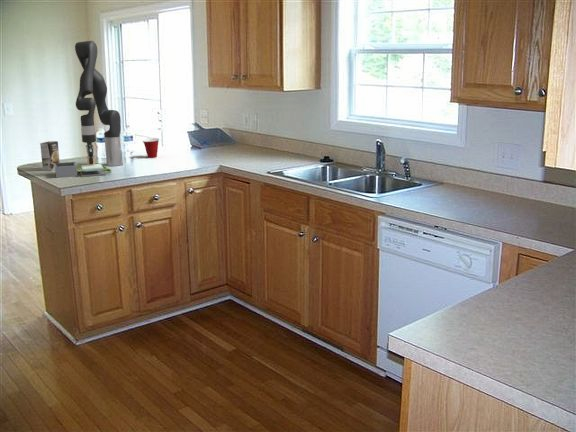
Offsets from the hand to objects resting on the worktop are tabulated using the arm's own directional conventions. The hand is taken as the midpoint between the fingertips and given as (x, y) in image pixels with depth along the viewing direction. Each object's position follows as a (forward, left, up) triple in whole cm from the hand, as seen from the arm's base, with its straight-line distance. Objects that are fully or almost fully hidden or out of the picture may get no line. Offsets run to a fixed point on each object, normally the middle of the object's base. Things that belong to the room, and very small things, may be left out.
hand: (91, 163), depth 353 cm
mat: (0, +4, -5) cm, 6 cm away
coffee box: (+21, -20, -5) cm, 30 cm away
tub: (+14, +2, -5) cm, 15 cm away
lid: (0, +4, -3) cm, 4 cm away
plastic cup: (-41, -38, -5) cm, 57 cm away
